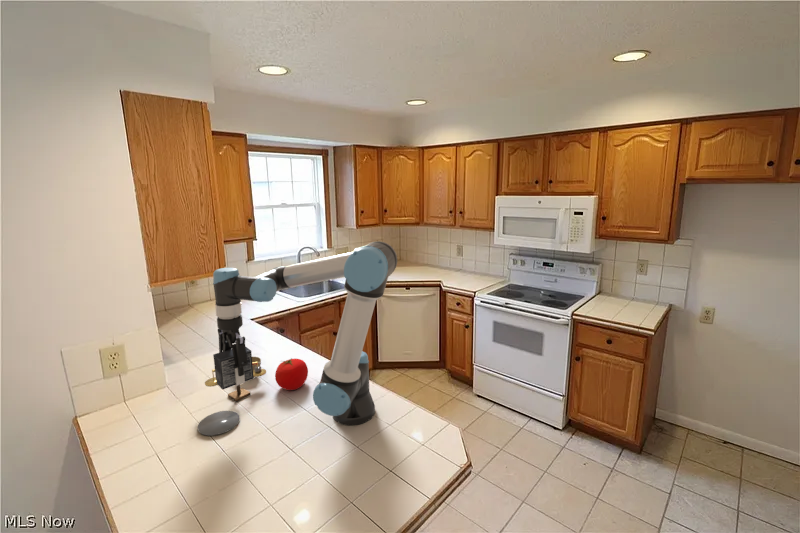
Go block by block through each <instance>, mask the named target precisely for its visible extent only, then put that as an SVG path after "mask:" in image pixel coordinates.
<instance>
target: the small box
mask: <svg viewBox="0 0 800 533" xmlns="http://www.w3.org/2000/svg"><path fill="white" fill-rule="evenodd" d="M245 347H246V355H247V363H248V365H246V366H244V376H245V383H246V382H249V381H251V380H254V376H253V366H252V357H253V356H252V350H251V349H249V348H248V347H247V346H246V345H245ZM212 356H213V365H214V369H215V372H214V373H215V374H214V377H216V383H217V384H218V385H217V386H218V387H219V388H220V389H221V390H226V389H228V388H231V387H234V386H236V378H235V368H234V367H235V366H236V364H235V360H234V356H233V352H232V349H231V350H227V351H224V352H223V351H222V352H220V353H219V352H218V353H214V354H213V355H212Z"/></svg>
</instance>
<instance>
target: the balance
mask: <svg viewBox="0 0 800 533" xmlns="http://www.w3.org/2000/svg"><path fill="white" fill-rule="evenodd" d="M256 364H257V367H255V368H254V369H255V370H253V376H254V377H255V378H259V377H262V376H265V375H266V373H267V370H266V369H264V368H262V366H261V365H260V366H258V362H252V365H256ZM211 373H212V377H210V378H209V379H206V380H205V382H204V385H205V387H216V386H219V385H218V384H217V383H216V376H215V374H214V373H215V368H214V369H211ZM235 387H236V390H233V391H232V392H229V393H227V398H229V399H230V400H232V401H234V402H235V403H237V402H239V401H241V400H243V399H245V398H248V397H250V396H251V391H249V390H247V389H245V388H244V387H241V384H240V385H238V386H237V385H235Z"/></svg>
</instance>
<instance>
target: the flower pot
mask: <svg viewBox="0 0 800 533" xmlns="http://www.w3.org/2000/svg"><path fill="white" fill-rule="evenodd" d="M261 361H262V359H261V358H260V357H259V356H252V362H258V366H261V365H262V364H261V363H262V362H261ZM252 366H253V370H255V369H254V368H255V367H257V364H256V365H252ZM254 378H256V377H254Z"/></svg>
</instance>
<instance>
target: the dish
mask: <svg viewBox="0 0 800 533" xmlns="http://www.w3.org/2000/svg"><path fill="white" fill-rule="evenodd" d="M240 419H241V417H240V415H239V413H238V412H236V411H234V410H222V411H220V410H219V411H217V412H214V413H211V414H209V415H207V416H205V417H204V418H203V419H201V420H200V421H199V422H198V424H197V431H198V433H199V434H201V435H202V436H211V437H212V436H218V435H221V434H224V433H227V432H229V431H230V430H232V429H234V428H235V427H236V426H237V425H238V424H239V422H240Z"/></svg>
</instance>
